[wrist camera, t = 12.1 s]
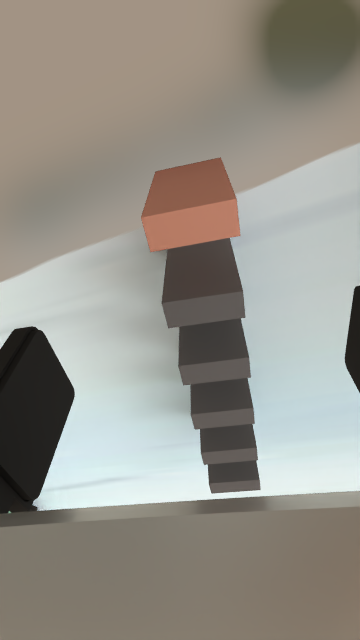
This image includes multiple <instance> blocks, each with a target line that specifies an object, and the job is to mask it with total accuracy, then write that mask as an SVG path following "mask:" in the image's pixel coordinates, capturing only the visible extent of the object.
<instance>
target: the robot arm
mask: <svg viewBox="0 0 360 640" xmlns="http://www.w3.org/2000/svg"><path fill="white" fill-rule="evenodd" d="M345 363H346V367H347V369H348V371H349V373H350V375H351V377H352V379H353V381H354V383H355V385H356V387H357V388H358V390H359V392H360V286H356V287H355V289H354V295H353V302H352V309H351V316H350V324H349V331H348V338H347V345H346V352H345ZM74 395H75V393H74V388H73V386H72V384H71V382H70V380H69V378H68V377H67V375H66V373H65V371H64V369H63V367H62V366H61V364H60V362H59V360H58V358H57V356H56V354H55V353H54V351H53V349H52V347H51V345H50V343H49V342H48V340H47V338H46V336H45V334H44V333H43V331H41V330H38V329H37V328H36V327H33V326H32V327H25V328H18V329H15V330H14V331H13V332H12V333H11V334H10V336H9V337H8V339H7V340H6V342H5V343H4V345H3V346H2V348H1V349H0V640H360V491H347V492H330V493H313V494H296V495H279V496H262V497H245V498H228V499H212V500H197V501H181V502H165V503H149V504H134V505H119V506H104V507H89V508H75V509H60V510H46V511H31V512H30V509H31V506H32V504H33V501H34V500H35V499H37V498H38V497H39V495H40V493H41V490H42V487H43V484H44V481H45V479H46V476H47V473H48V470H49V467H50V465H51V462H52V459H53V456H54V453H55V451H56V448H57V445H58V442H59V439H60V437H61V434H62V431H63V428H64V425H65V423H66V420H67V417H68V414H69V411H70V409H71V406H72V403H73V400H74ZM9 511H10V512H11V513H8V512H9Z"/></svg>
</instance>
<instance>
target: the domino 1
mask: <svg viewBox="0 0 360 640" xmlns="http://www.w3.org/2000/svg"><path fill="white" fill-rule="evenodd" d="M141 219H142V223H143V227H144V230H145V234H146V237H147V241H148V245H149V248H150V252H154V251H160V250H165V249H171V248H176V247H182V246H187V245H193V244H198V243H203V242H209V241H214V240H220V239H225V238H231V237H236V236H240V228H239V218H238V209H237V199H236V196H235V194H234V191H233V188H232V186H231V183H230V181H229V178H228V175H227V173H226V170H225V168H224V165H223V162H222V160H221V158H216V159H211V160H207V161H202V162H197V163H193V164H188V165H184V166H179V167H174V168H169V169H165V170H160V171H156V172H155V175H154V178H153V181H152V184H151V187H150V191H149V194H148V197H147V200H146V203H145V207H144V210H143V213H142V216H141Z"/></svg>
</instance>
